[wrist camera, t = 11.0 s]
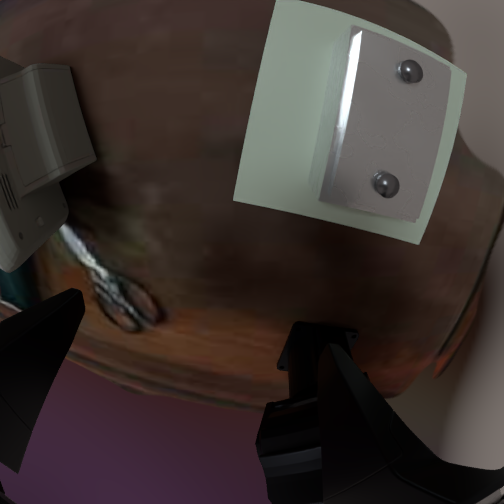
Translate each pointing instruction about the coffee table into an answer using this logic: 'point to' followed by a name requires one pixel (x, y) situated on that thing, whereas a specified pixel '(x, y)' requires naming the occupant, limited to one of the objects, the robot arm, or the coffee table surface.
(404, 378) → the coffee table surface
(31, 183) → the digital clock
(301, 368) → the robot arm
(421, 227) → the stand
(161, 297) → the coffee table surface
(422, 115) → the block
